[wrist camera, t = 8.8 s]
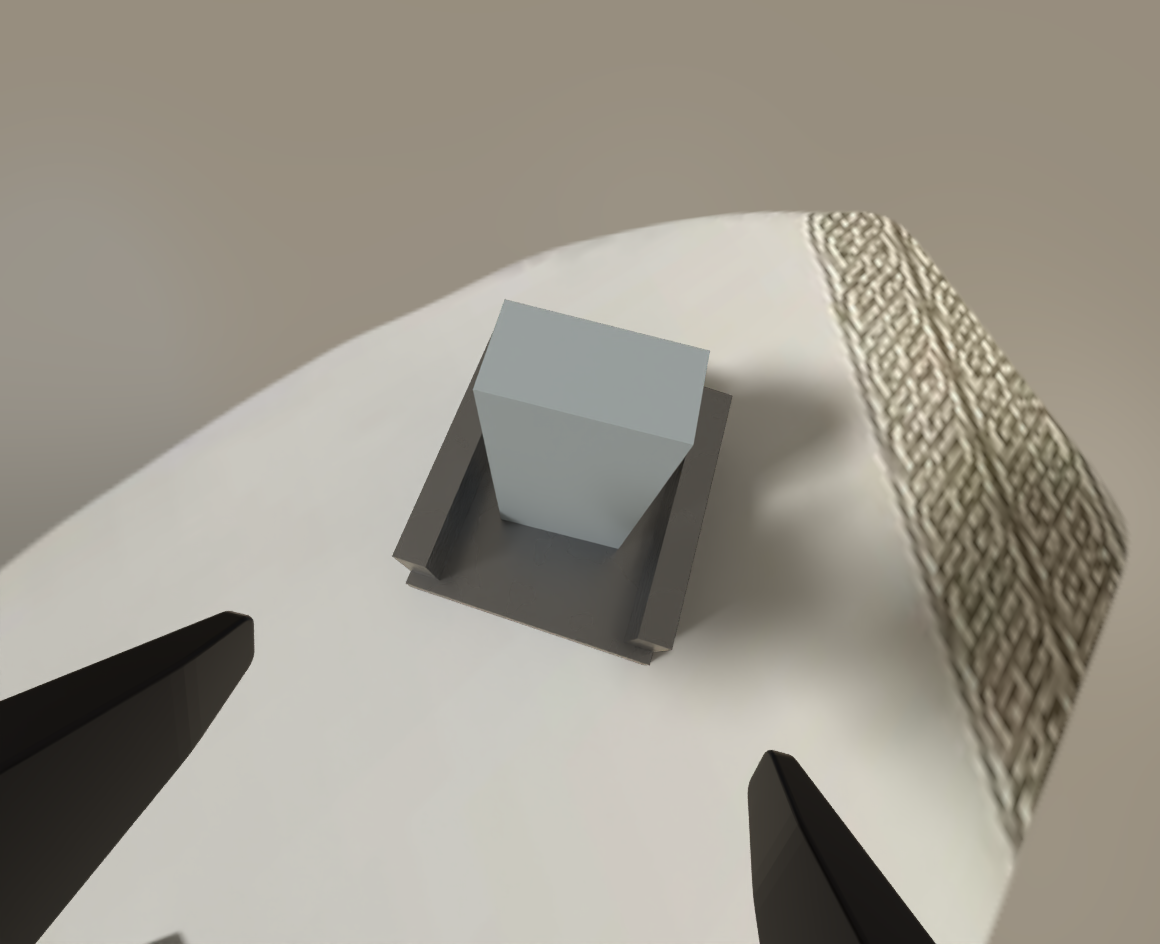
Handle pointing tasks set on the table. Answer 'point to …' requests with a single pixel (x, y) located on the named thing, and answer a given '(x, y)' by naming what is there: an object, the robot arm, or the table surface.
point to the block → (583, 420)
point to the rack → (560, 547)
